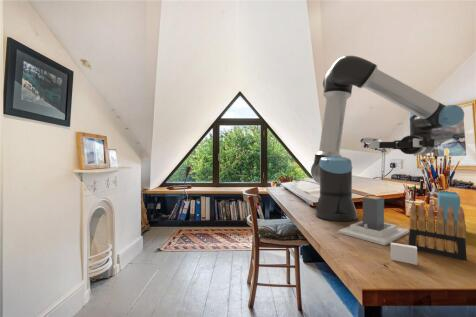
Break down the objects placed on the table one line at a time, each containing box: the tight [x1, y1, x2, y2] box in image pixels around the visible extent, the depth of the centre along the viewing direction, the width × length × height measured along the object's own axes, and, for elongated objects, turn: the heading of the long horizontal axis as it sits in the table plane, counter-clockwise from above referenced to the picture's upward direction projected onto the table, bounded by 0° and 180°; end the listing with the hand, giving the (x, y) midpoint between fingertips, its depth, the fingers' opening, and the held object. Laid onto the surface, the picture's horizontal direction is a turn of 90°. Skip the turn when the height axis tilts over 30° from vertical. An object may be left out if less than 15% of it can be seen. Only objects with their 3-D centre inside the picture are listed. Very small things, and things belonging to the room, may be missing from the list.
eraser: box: [390, 242, 418, 266], centre depth 53 cm, size 1×5×4 cm, turn 57°
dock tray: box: [338, 220, 409, 246], centre depth 72 cm, size 13×17×4 cm
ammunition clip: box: [408, 201, 468, 262], centre depth 57 cm, size 11×2×12 cm, turn 47°
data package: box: [437, 190, 461, 235], centre depth 72 cm, size 12×4×12 cm, turn 141°
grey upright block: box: [362, 195, 385, 231], centre depth 72 cm, size 4×5×10 cm
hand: (390, 143), depth 82 cm, fingers open, 13 cm apart
